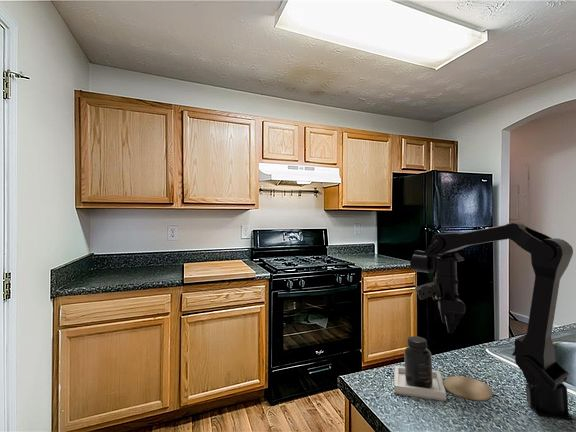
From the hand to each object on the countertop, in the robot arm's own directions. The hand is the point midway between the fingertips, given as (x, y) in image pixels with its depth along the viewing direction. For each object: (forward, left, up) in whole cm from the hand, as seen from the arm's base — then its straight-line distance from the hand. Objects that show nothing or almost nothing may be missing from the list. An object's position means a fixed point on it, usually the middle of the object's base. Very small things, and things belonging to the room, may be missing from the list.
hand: (447, 327), depth 90 cm
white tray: (+9, +11, -13) cm, 19 cm away
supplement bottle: (+9, +12, -12) cm, 19 cm away
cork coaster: (-3, +9, -13) cm, 16 cm away
